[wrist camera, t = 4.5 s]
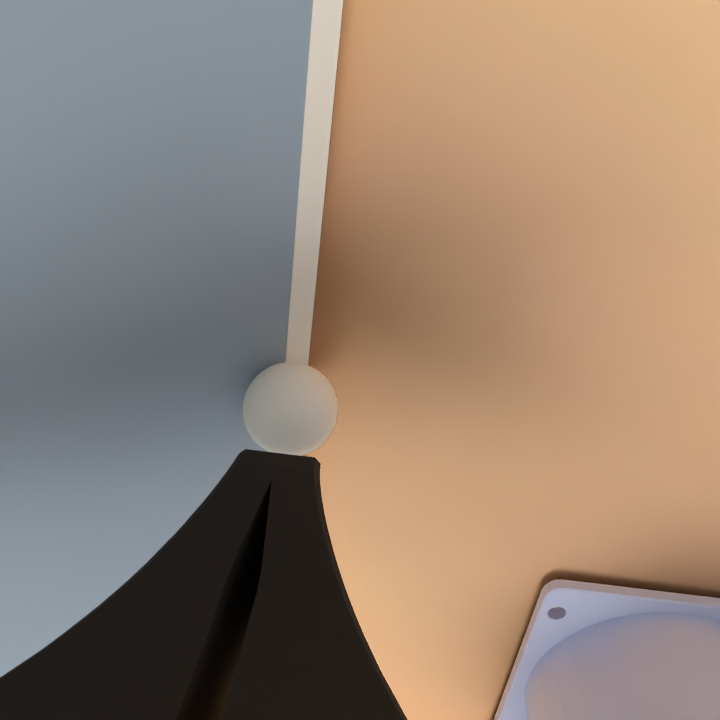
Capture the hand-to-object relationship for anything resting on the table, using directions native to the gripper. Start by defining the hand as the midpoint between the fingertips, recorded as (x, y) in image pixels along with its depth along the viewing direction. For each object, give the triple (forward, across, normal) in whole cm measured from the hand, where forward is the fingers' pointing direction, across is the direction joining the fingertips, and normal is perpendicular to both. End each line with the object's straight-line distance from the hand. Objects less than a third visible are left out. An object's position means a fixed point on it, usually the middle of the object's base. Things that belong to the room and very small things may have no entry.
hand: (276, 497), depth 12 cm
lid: (0, +6, 0) cm, 6 cm away
